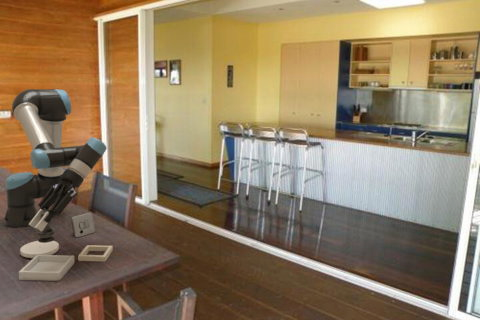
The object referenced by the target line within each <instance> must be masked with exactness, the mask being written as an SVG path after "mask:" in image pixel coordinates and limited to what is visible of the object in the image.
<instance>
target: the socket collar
mask: <svg viewBox="0 0 480 320" xmlns="http://www.w3.org/2000/svg"><path fill="white" fill-rule="evenodd" d="M113 246H114V245H98V244H97V245H93V244H92V245H91V244H90V245H89V244H87V245H86V246H85V247H84V248H83V249H82V251H81V252H80V253H79V254H78V256H77V259H78V261H79V262H106V261H107V260H108V258H109V257H110V255H111V253H112V252H113V251H114V248H113ZM89 252H104V253H103V255H102V254H100V255H99V254H97V255H96V254H89Z"/></svg>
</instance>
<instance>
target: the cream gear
mask: <svg viewBox="0 0 480 320" xmlns="http://www.w3.org/2000/svg"><path fill="white" fill-rule="evenodd" d="M59 249H60V245H59V242H58V241H55V240H53V241H51V242H47V243H41V242H39V240H35V241H31V242H27V243H26V244H24V245H22V246H21V247H20V249H19V251H20V255H21V257H24V258H28V259H33V258H34V257H35V256H36V255H55V254H56V253H57V252H58V251H59Z"/></svg>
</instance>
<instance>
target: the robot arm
mask: <svg viewBox="0 0 480 320" xmlns="http://www.w3.org/2000/svg"><path fill="white" fill-rule="evenodd" d="M11 110H12V111H11V112H12V114H13V116H14V118H15V119H16V120H17V121H19V122H20V125H21V128H22V130H23V132H24V134H25V136H26V138H27V140H28V142H29V144H30V146H31V149H32V150H31V151H30V156H29V157H30V162H31V166H32V167H33V169H35V170H37V174H34V173H33V172H31V171H24V172H23V171H22V172H19V173H18V172H17V173H13V174H11V175H10V176H7V177H6V179H5V191H6V192H5V195H6V205H7V206H6V207H7V208H6V212H5V215H4V218H3V219H4V220H3V223H4V224H3V225H4V226H6V227H8V228H9V227H10V228H23V227H30V226H31V227H32V228H33V229H37V231H38V230H40V231H43V229H44V228H45V227H46V225H47V224H48V223H49V222H50V223H51V221H52V219H53V218H54V217H55V216H60V215H61V214H62V213H63V211H64V210H65V209H66V208H67V206H68V205H69V204H70V203H71V201H72V200H73V199H74V198H75V197H76V196H77V195H78V193H77V192H76V191H75V190H76V189H77V188H80V186H81V185H82V184H83V183H84V181H85V180H84V179H86V178H87V177H88V175H89V174H90V172H92V170H93V169H94V168H95V166H96V165H97V163H98V162H99V160H101V158H102V157H103V156H104V154H105V153H106V150H107V146H106V144H105V143H104V142H103V141H102V140H101V139H98V138H96V137H94V136H93V137H92V136H91V137H90V138H89V139H88V140H87V141H86V143H85V144H83V145H74V146H73V145H72V146H63V143H62V142H63V123H64V122H65V121H66V120H67V116H68V115H71V113H72V102H71V99H70V96H69V94H68V93H67V91H66V90H64V89H56V88H48V89H47V88H46V89H45V88H44V89H43V88H41V89H40V88H39V89H37V88H36V89H35V88H30V89H24V90H22V91H21V92H20V93H18V94H17V95H16V96H15V98H14V100H13V101H12V104H11ZM62 167H67V169H65V170H64V168H62ZM36 199H41V201H40V202H39V203H38V204H37V206H38V207H39V210H38V209H37V206H36ZM44 208H45V209H46V210H47V211H48V212H46V213H45V215H44V216H43V217H42V219H41V212H42V211H43V210H44ZM50 220H51V221H50Z"/></svg>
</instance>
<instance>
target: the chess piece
mask: <svg viewBox="0 0 480 320" xmlns="http://www.w3.org/2000/svg"><path fill="white" fill-rule="evenodd" d="M46 212H48V210H46V209H45V208H44V210H43V211H42V212H41V219H42V217H43V216H44V215H45V213H46ZM51 221H52V219H51V220H50V222H49V223H48V224H47V225H46V227H45V228H44V229H43V231H40V230H38V229H37V231H36V233H37V235H38V237H40V238H39V239H38V241H39V242H41V243H47V242H51V241H55V237H53V236H54V234H55V230H56V228H54V227H52V226H51Z"/></svg>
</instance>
